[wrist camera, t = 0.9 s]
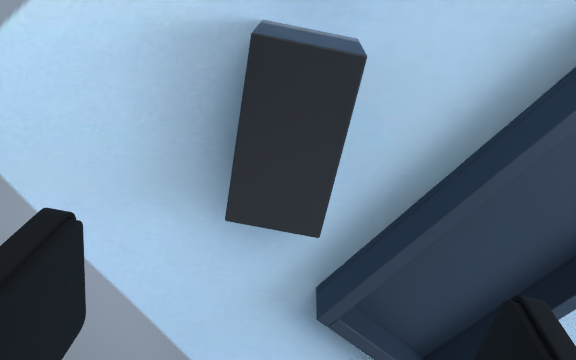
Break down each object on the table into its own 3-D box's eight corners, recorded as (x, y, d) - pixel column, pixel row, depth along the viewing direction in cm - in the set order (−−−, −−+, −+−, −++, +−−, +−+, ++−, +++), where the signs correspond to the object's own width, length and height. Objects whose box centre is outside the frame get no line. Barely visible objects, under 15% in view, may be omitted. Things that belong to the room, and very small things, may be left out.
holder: (315, 287, 25) (316, 319, 23) (643, 9, 18) (689, 17, 16) (421, 363, 27) (430, 399, 25) (750, 144, 20) (804, 168, 18)
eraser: (237, 183, 22) (224, 221, 19) (262, 19, 19) (251, 32, 16) (318, 198, 22) (319, 239, 19) (358, 39, 19) (367, 55, 16)
